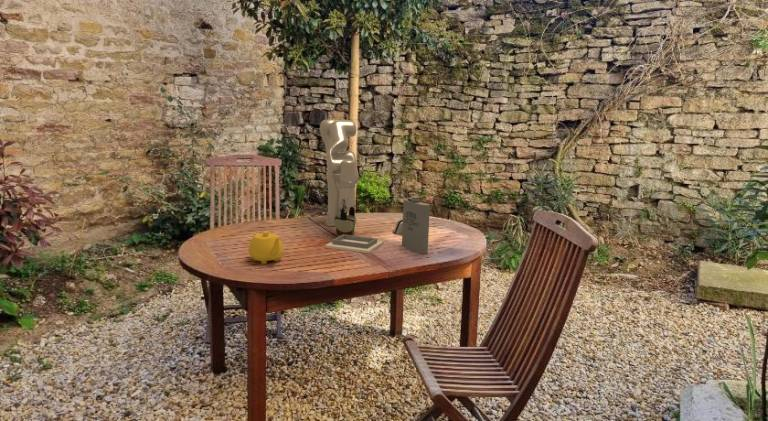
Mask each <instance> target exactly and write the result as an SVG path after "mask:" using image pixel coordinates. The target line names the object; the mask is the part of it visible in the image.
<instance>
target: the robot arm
mask: <svg viewBox="0 0 768 421" xmlns="http://www.w3.org/2000/svg"><path fill="white" fill-rule="evenodd" d="M319 132H320V136H321V139H322V141H323V144H324V146H325V152H326V156H325V157H326V159H325V160H326V164H327V165H326V167H327V172H326V181H327V182H326V183H327V198H328V199H327V215H322V216H321V219H322V220H325V223H324V224H325V225H326V226H327V227H328V226H329V227H335V220H334V217H335V216H337V215H341V220H345V221H346V220H347V215H351V216H355V217H356V204H357V200H356V185H357V184H358V183H359V172H358V171H359V170H358V165H357V164H358V163H357V156H356V154H355V152H353V151H352V150H346V149H347V148H348V147H349V141H348V138H349V137H354V136H356V135H357V126H356V123H355V122H354V121H353V120H350V119H340V118H339V119H337V118H335V119H333V118H331V119H323V120H322V121H321V122H320V125H319ZM347 210H348V212H347Z"/></svg>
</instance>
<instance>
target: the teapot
mask: <svg viewBox="0 0 768 421" xmlns="http://www.w3.org/2000/svg"><path fill="white" fill-rule="evenodd" d="M247 253H248V255H249V256H250V258H251V259H253V262H260V264H261V265H267V263H268V261H273V262H276V263H277V262H280V259H281V258H282V257H283V255H284V253H285V249H284V245H283V241H282V240H281V238H280V236H279V235H278V234H275V233H272V232H270V231H268V230H264V231H262V233H257V232H254V233H253V236H252V238H251V240H250V243H249V246H248V252H247Z"/></svg>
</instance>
